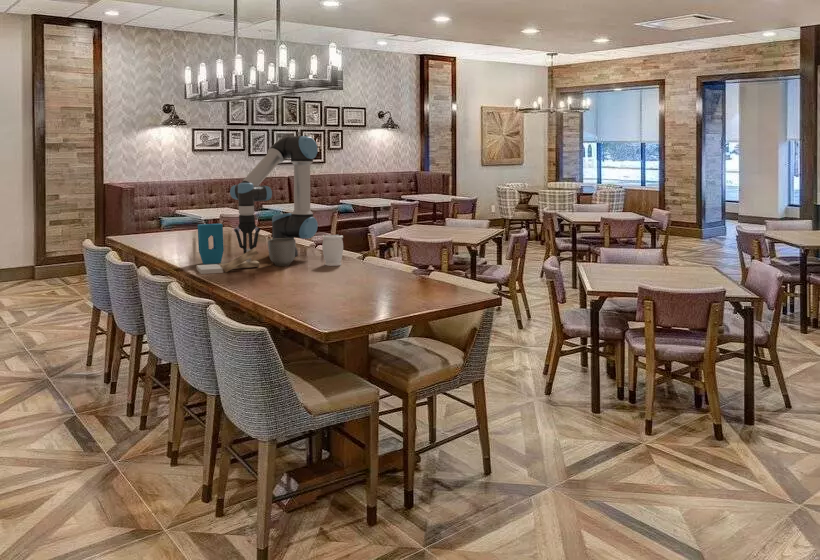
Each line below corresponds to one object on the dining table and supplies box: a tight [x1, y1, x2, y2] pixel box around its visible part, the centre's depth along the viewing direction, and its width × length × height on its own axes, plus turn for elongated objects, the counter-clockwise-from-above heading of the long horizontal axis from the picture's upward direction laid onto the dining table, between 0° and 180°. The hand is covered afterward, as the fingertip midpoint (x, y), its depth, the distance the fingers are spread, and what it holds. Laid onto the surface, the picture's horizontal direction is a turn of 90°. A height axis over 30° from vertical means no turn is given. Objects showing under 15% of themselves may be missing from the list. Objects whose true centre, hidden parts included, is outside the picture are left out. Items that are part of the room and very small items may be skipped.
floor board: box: [196, 264, 225, 275], centre depth 370 cm, size 11×15×2 cm
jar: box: [321, 234, 344, 267], centre depth 388 cm, size 11×10×15 cm
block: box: [197, 223, 225, 265], centre depth 392 cm, size 12×5×20 cm, turn 117°
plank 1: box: [222, 248, 259, 273], centre depth 370 cm, size 18×6×2 cm, turn 113°
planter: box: [267, 238, 297, 267], centre depth 387 cm, size 14×14×13 cm
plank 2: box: [219, 260, 260, 270], centre depth 379 cm, size 18×6×2 cm, turn 113°
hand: (248, 261), depth 380 cm, fingers closed, pressing on plank 2
